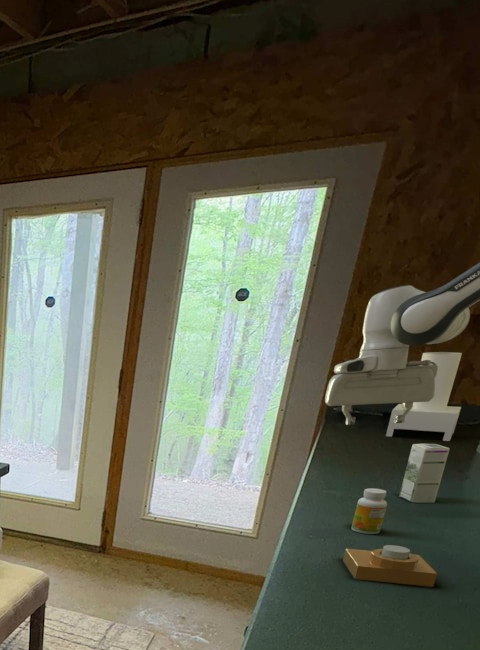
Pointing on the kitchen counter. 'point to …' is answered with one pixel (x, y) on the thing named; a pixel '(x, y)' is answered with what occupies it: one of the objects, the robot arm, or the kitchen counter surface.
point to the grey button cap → (395, 552)
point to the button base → (389, 568)
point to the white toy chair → (433, 400)
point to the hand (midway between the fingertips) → (374, 423)
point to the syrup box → (424, 473)
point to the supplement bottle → (370, 512)
